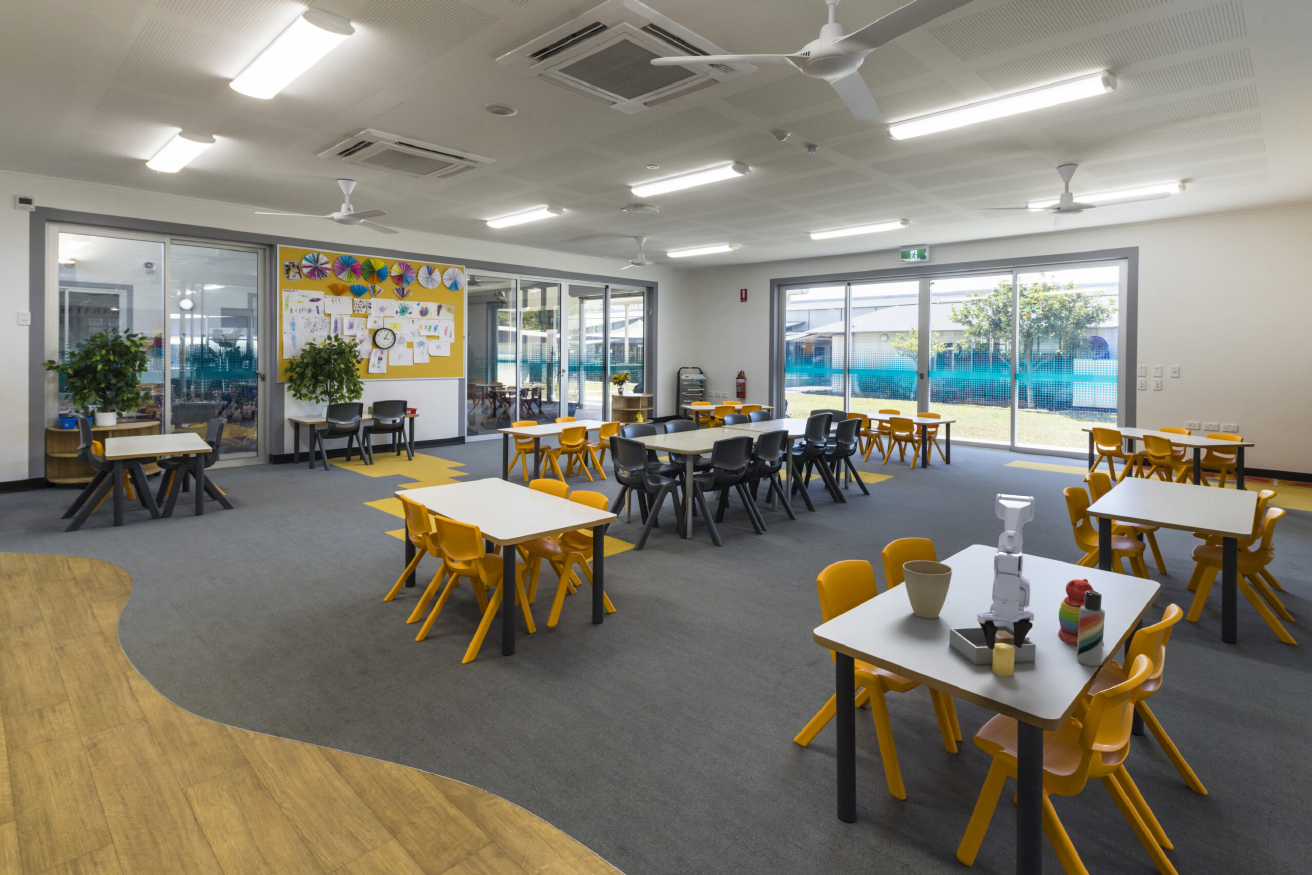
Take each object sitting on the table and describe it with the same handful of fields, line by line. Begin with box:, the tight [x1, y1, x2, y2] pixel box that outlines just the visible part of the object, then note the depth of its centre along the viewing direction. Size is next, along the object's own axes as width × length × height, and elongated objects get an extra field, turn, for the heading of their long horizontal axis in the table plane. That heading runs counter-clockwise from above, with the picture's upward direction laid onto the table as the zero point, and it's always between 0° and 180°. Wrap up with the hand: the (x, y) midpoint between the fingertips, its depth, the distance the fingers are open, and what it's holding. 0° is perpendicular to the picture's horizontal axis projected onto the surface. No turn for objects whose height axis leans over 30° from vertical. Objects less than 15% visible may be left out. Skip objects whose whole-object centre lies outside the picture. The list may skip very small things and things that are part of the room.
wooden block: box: [995, 630, 1014, 645], centre depth 188 cm, size 5×5×5 cm
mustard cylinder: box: [991, 643, 1015, 678], centre depth 177 cm, size 5×5×7 cm
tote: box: [949, 626, 1037, 666], centre depth 188 cm, size 17×13×5 cm
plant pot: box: [902, 560, 953, 620], centre depth 216 cm, size 15×15×16 cm
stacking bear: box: [1057, 578, 1095, 647], centre depth 197 cm, size 11×10×18 cm
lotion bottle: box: [1076, 590, 1106, 667], centre depth 181 cm, size 6×6×20 cm
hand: (1004, 647), depth 176 cm, fingers open, 7 cm apart
